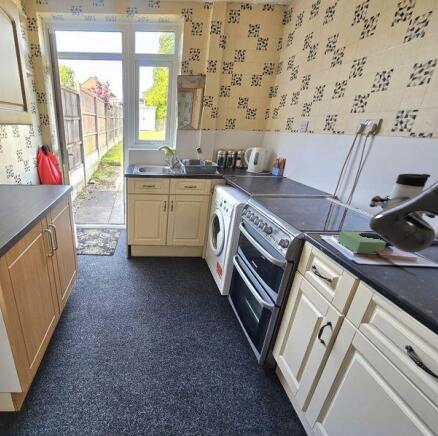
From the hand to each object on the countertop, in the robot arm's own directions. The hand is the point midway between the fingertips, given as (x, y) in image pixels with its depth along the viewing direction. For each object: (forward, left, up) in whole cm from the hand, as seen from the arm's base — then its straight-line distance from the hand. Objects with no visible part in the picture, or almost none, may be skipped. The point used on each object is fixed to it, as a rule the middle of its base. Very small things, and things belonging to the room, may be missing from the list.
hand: (401, 201), depth 77 cm
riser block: (-5, -14, -24) cm, 28 cm away
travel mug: (+2, +2, -11) cm, 11 cm away
